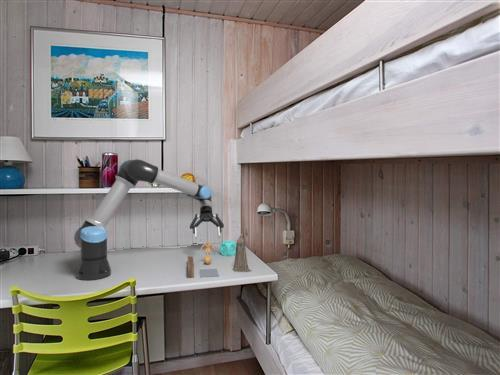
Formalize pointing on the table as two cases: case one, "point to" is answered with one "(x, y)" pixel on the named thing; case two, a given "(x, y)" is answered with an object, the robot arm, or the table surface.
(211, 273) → the mat
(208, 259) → the figurine
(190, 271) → the walnut rail
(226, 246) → the decorative dice
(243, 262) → the wizard figurine
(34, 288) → the table surface
